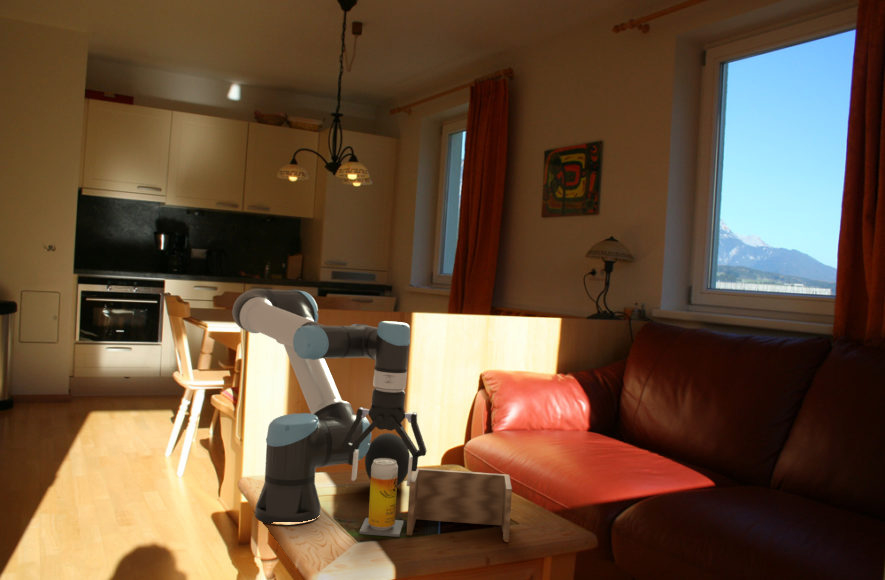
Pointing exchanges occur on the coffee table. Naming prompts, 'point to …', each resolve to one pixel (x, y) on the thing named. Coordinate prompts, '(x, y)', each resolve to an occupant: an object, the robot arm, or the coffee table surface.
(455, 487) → the wooden monitor riser
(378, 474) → the beer can
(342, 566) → the coffee table surface
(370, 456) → the decorative egg
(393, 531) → the slate coaster
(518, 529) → the coffee table surface
